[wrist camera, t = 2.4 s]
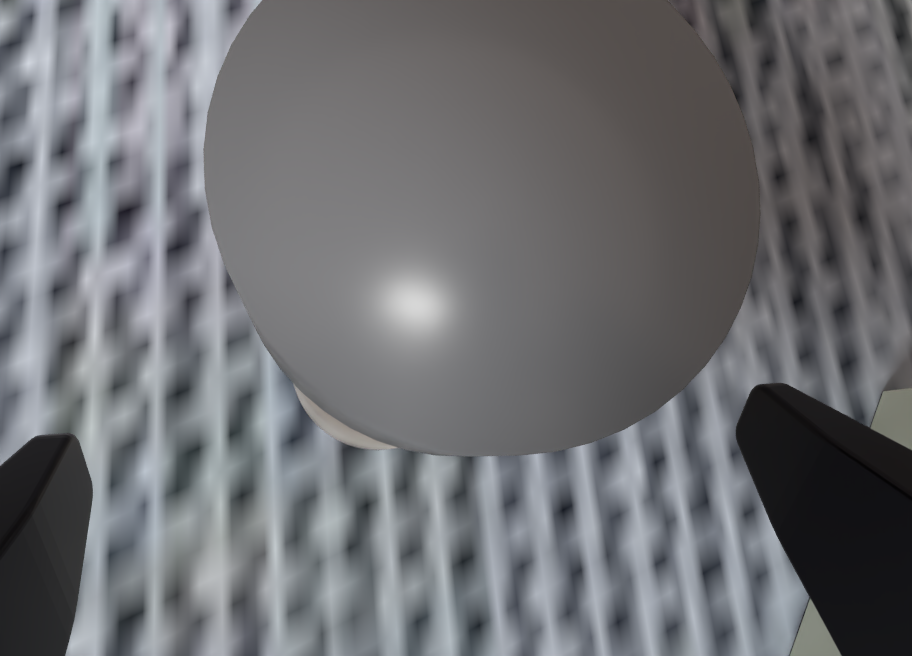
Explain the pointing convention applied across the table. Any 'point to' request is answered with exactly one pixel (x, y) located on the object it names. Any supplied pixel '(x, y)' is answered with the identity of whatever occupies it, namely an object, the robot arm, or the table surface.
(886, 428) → the socket plate
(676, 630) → the table surface
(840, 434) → the robot arm
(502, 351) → the plug
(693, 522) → the table surface
